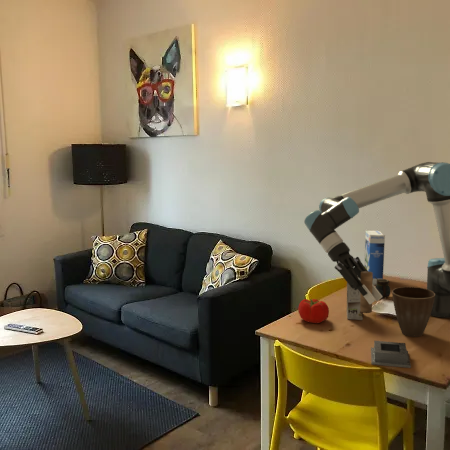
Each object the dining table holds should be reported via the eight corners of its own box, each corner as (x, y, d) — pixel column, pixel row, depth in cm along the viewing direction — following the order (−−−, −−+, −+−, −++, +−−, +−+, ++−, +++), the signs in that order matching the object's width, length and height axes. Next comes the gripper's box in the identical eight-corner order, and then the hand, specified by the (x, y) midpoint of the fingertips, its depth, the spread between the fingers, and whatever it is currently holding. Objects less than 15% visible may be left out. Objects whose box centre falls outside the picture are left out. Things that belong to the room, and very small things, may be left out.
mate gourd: (392, 299, 227) (393, 277, 226) (376, 299, 227) (376, 278, 226) (387, 294, 234) (388, 273, 233) (371, 294, 234) (372, 274, 233)
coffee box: (363, 320, 200) (364, 281, 198) (346, 319, 202) (347, 281, 199) (361, 312, 209) (362, 275, 207) (346, 312, 210) (346, 275, 208)
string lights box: (363, 278, 264) (365, 230, 260) (378, 278, 263) (379, 230, 259) (368, 284, 251) (369, 234, 247) (383, 285, 250) (385, 234, 246)
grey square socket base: (407, 352, 168) (408, 342, 168) (410, 368, 157) (411, 356, 156) (370, 349, 171) (371, 339, 171) (371, 364, 160) (371, 353, 159)
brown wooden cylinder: (371, 309, 175) (372, 271, 173) (372, 313, 171) (372, 274, 169) (360, 309, 176) (360, 271, 174) (360, 312, 173) (360, 273, 170)
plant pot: (411, 343, 176) (412, 300, 173) (382, 330, 189) (383, 289, 187) (442, 336, 182) (444, 294, 179) (412, 323, 195) (413, 284, 193)
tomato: (335, 320, 201) (335, 300, 200) (317, 328, 192) (317, 307, 191) (309, 313, 210) (310, 293, 209) (291, 320, 201) (291, 300, 200)
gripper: (341, 250, 188) (381, 300, 179) (315, 257, 176) (356, 312, 167) (354, 237, 183) (395, 289, 174) (328, 245, 171) (371, 300, 162)
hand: (376, 300), depth 170 cm, fingers closed on brown wooden cylinder, 4 cm apart
